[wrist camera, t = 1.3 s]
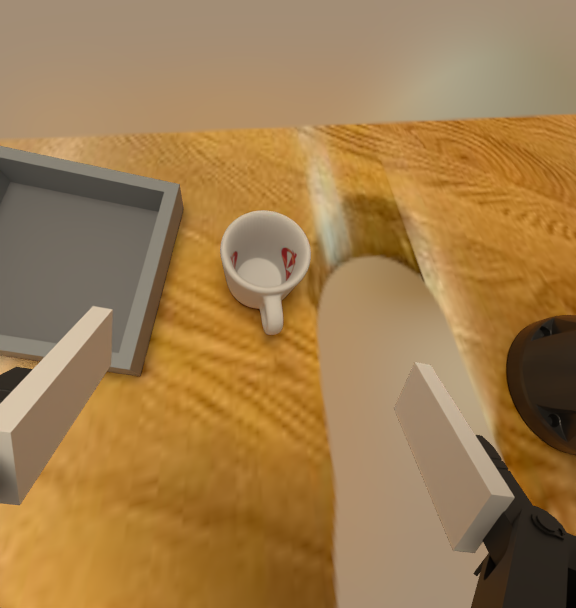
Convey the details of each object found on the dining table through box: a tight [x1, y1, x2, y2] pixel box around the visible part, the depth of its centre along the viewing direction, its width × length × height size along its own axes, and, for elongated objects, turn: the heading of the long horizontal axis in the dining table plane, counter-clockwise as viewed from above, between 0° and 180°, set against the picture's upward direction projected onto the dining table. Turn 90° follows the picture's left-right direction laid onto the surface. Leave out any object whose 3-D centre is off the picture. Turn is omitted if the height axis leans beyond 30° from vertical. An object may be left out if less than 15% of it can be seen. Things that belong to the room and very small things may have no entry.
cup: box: [220, 211, 311, 335], centre depth 36 cm, size 11×8×8 cm
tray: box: [0, 146, 183, 376], centre depth 35 cm, size 18×18×4 cm
